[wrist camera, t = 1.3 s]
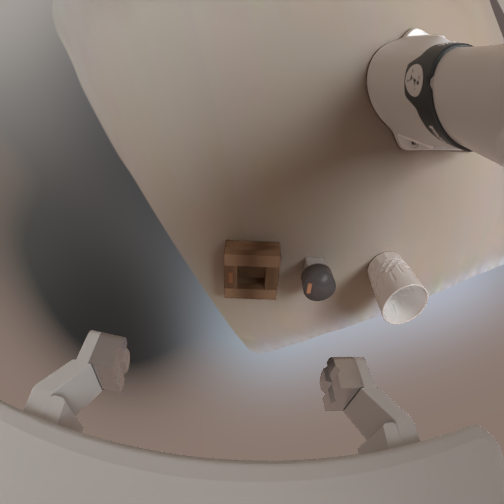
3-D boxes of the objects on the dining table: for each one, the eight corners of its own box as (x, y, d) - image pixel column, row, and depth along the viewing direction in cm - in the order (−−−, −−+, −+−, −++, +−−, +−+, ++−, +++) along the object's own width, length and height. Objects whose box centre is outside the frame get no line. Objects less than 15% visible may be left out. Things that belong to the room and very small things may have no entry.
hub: (278, 242, 46) (280, 256, 42) (274, 283, 50) (275, 300, 47) (226, 240, 46) (223, 254, 42) (226, 282, 50) (224, 298, 46)
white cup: (371, 245, 46) (393, 283, 38) (410, 250, 46) (436, 285, 38) (358, 284, 50) (375, 324, 42) (395, 286, 50) (415, 324, 42)
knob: (330, 253, 47) (338, 276, 42) (325, 277, 49) (332, 301, 44) (300, 252, 47) (306, 275, 42) (297, 276, 49) (301, 301, 44)
